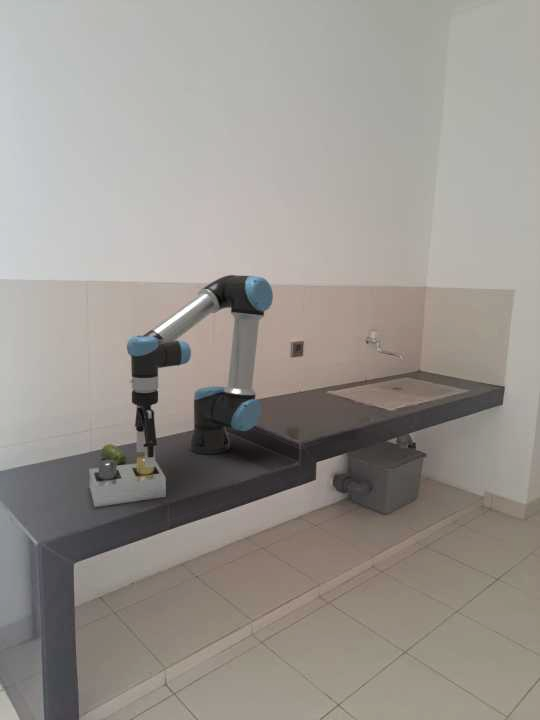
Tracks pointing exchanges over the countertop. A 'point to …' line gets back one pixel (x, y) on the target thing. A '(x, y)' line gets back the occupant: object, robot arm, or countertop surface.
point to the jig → (124, 484)
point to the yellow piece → (143, 467)
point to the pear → (113, 454)
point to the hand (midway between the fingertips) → (145, 459)
